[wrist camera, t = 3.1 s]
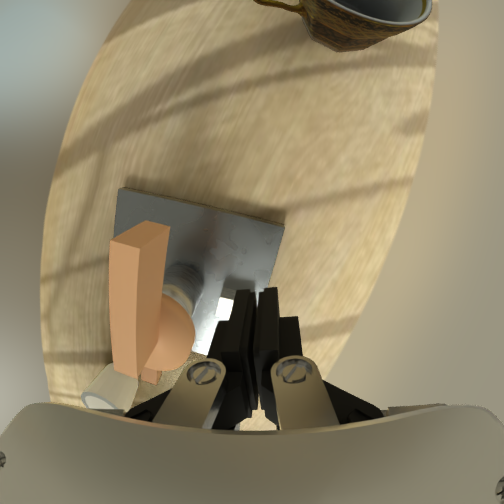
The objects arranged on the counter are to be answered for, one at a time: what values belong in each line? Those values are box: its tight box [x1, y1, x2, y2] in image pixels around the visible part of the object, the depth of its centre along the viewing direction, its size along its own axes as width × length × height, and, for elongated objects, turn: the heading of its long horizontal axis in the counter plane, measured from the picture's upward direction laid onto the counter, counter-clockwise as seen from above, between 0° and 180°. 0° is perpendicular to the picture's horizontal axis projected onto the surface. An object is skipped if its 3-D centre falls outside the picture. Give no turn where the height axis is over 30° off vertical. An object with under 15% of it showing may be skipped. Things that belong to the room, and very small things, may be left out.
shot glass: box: [81, 363, 139, 412], centre depth 30 cm, size 7×7×7 cm
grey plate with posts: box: [114, 187, 285, 355], centre depth 23 cm, size 16×16×8 cm
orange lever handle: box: [109, 220, 196, 385], centre depth 16 cm, size 14×6×6 cm, turn 166°
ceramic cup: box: [254, 0, 432, 52], centre depth 13 cm, size 13×10×10 cm
